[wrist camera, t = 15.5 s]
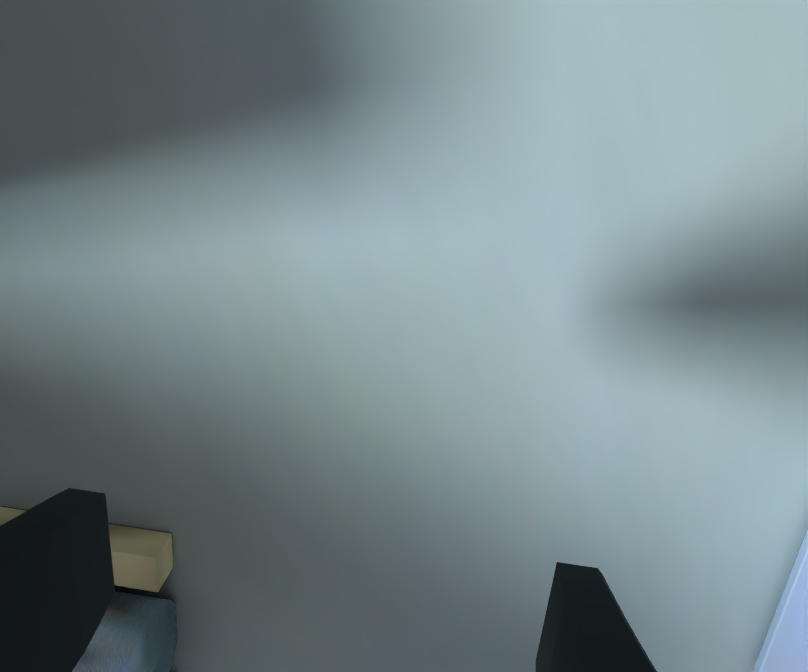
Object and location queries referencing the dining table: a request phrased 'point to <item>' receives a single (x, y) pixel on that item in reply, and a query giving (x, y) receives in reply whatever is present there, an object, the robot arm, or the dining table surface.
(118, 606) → the roller
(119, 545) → the roller rack
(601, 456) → the dining table surface
